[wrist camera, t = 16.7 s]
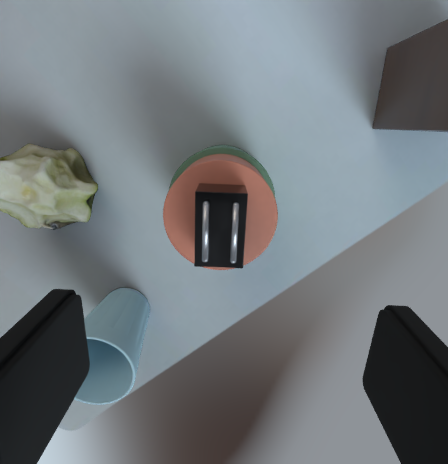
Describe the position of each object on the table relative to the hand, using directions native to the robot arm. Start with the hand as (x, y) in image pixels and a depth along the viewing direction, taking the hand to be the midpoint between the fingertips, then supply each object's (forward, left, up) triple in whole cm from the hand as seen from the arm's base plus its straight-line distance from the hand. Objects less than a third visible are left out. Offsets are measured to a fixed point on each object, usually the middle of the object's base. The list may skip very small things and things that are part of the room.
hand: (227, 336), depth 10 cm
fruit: (+18, 0, -24) cm, 30 cm away
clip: (0, 0, -13) cm, 13 cm away
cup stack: (+1, 0, -24) cm, 24 cm away
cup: (+12, +15, -24) cm, 31 cm away
